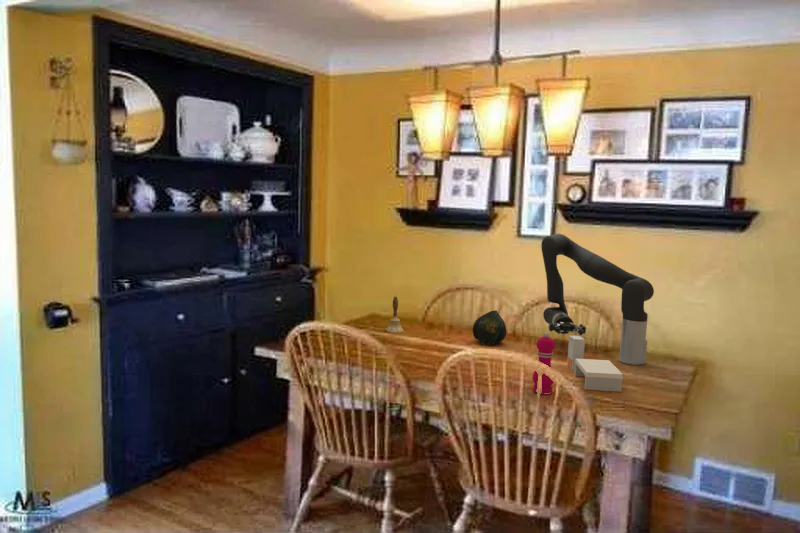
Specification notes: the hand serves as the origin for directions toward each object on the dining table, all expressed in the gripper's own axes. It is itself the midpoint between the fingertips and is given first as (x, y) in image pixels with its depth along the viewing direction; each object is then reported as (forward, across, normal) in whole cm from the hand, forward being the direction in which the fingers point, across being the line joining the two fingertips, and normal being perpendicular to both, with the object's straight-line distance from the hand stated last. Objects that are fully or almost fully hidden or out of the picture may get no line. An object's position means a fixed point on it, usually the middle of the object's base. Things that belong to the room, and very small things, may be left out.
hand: (570, 332), depth 253 cm
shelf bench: (+30, +4, +11) cm, 32 cm away
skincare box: (+12, 0, +12) cm, 16 cm away
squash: (-22, -30, +12) cm, 39 cm away
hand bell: (-36, -72, +13) cm, 81 cm away
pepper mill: (+44, -17, +11) cm, 48 cm away
